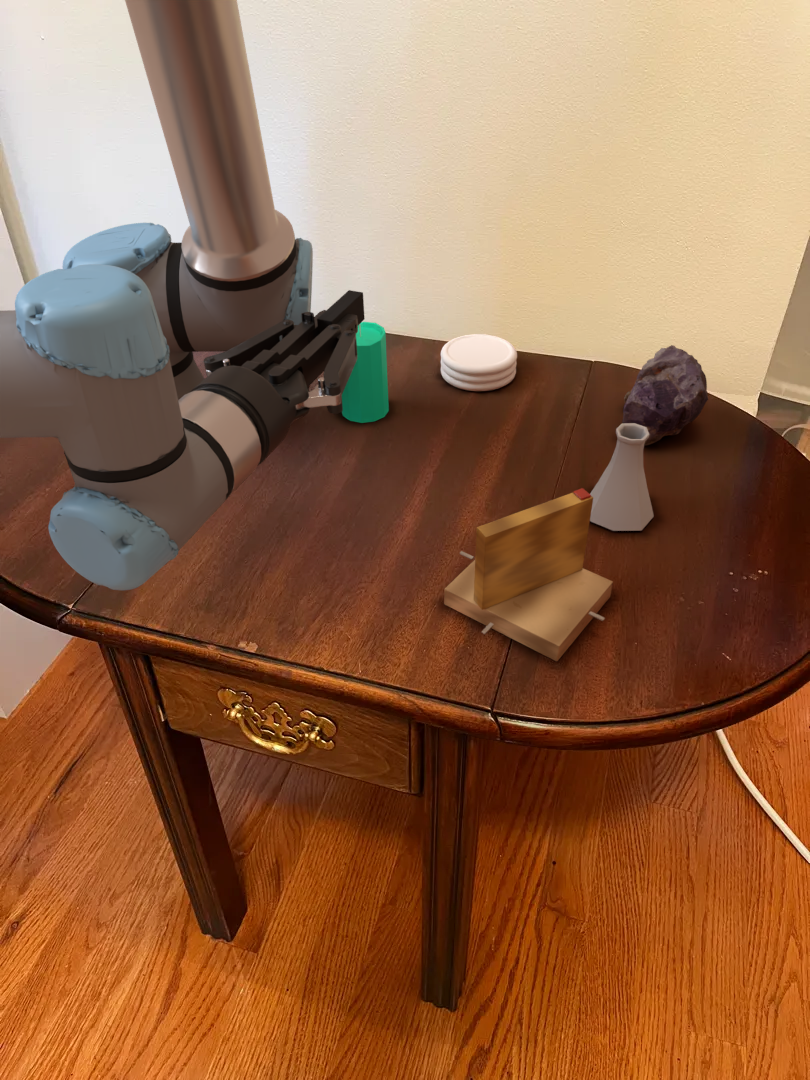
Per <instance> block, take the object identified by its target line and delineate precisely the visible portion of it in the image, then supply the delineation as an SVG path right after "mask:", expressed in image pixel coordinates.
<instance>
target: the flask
mask: <svg viewBox="0 0 810 1080" xmlns="http://www.w3.org/2000/svg"><path fill="white" fill-rule="evenodd" d="M615 434H616V438H617V440H616V445H615V448H614V450H613V454H612V456H611V458H610V460H609V463H608V465H606V467H605V469H604V471H603V473H602V475H601V476H600V477H599V479H598V481H597V482H596V484H595V485H594V487H593V489H592V490H591V492H590V493H589V494H590V495H591V496H592V497H593V504H592V510H591V517H590V522H591V523H593V524H596V525H598V526H601V527H603V528H605V529H608V530H610V531H612V532H618V531H619V532H620V531H621V532H624V531H625V532H626V531H627V532H629V531H630V532H631V531H633V532H634V531H640V532H641V531H643V530H644V529H645V527H646V526H647V525H648V524H649V523H650V521H651V520H652V519H653V518H654V516H655V515H654V510H653V506H652V502H651V498H650V493H649V489H648V485H647V479H646V474H645V467H644V450H645V445H644V444H645V441H646V440H647V439H648V438H649V432H648V429H647V427H644V426H641V425H638V424H635V423H620V425H619V426H618V427H616V428H615Z"/></svg>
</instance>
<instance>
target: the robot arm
mask: <svg viewBox="0 0 810 1080" xmlns="http://www.w3.org/2000/svg"><path fill="white" fill-rule="evenodd" d="M124 2H125V5H126V9H127V12H128V15H129V19H130V22H131V23H130V24H131V26H132V29H133V33H134V37H135V40H136V43H137V47H138V50H139V53H140V57H141V61H142V64H143V66H144V67H143V68H144V71H145V74H146V77H147V81H148V85H149V88H150V92H151V95H152V98H153V102H154V105H155V108H156V112H157V116H158V119H159V123H160V126H161V129H162V130H161V131H162V133H163V137H164V141H165V143H166V148H167V151H168V154H169V157H170V161H171V164H172V169H173V171H174V175H175V178H176V181H177V185H178V189H179V192H180V195H181V199H182V202H183V206H184V210H185V213H186V216H187V220H188V223H189V226H188V227H187V228H186V230H185V232H184V234H183V236H182V240H181V242H173V241H172V236H171V234H170V233H169V231H168V230H167V228H166V227H164V226H163V225H161V224H159V223H157V224H155V223H153V222H135V223H128V224H122V225H118V226H114V227H109V228H107V229H104V230H101V231H98V232H96V233H93V234H92V235H89V236H87V237H85V238H84V239H82V240H79V241H78V242H76V243H75V244H74V245H73V246H72V247H70V248H69V250H68V251H67V252H66V254H65V255H64V257H63V261H62V268H57V269H53V270H50V271H47V272H45V273H42V274H40V275H38V276H36V277H34V278H32V279H31V280H29V281H27V282H26V283H25V284H24V285H23V286H22V287H21V288H20V289H19V290H18V292H17V294H16V295H15V300H14V309H12V310H10V309H9V310H0V438H2V439H6V438H7V439H8V438H10V439H11V438H13V439H14V438H18V439H19V438H20V439H21V438H55V439H57V440H58V442H59V444H60V446H61V448H62V449H63V450H62V451H63V454H64V456H65V460H66V462H67V465H68V468H69V471H70V474H71V476H72V479H73V482H74V485H73V488H70V489H68V490H67V491H64V492H63V493H62V497H61V499H60V500H59V501H58V502H56V504H54V506H52V508H51V510H50V515H49V522H48V527H47V528H48V533H49V536H50V540H51V542H52V543H53V546H54V548H55V549H56V551H57V552H58V553H59V555H60V556H61V558H62V559H63V561H65V563H67V565H69V566H70V567H71V568H72V569H73V570H74V571H75V572H76V573H77V574H78V575H80V576H82V577H83V578H84V579H86V580H87V581H89V582H91V583H93V584H95V585H97V586H103V587H106V588H108V589H109V590H113V591H130V590H134V589H137V588H139V587H141V586H142V585H144V584H145V583H146V582H147V581H148V580H150V579H151V578H152V577H153V576H154V575H156V573H158V571H160V570H161V569H162V568H164V566H166V565H167V564H168V563H169V562H171V561H173V560H174V559H175V558H176V557H177V556H178V555H179V552H180V551H181V549H182V548H183V547H184V546H185V545H186V544H187V543H188V542H189V541H190V540H191V538H192V537H194V535H196V533H197V532H198V531H199V530H200V528H202V526H204V524H205V523H206V522H207V521H208V520H209V519H210V518H211V517H212V516H213V514H215V512H217V510H218V509H219V508H220V507H222V505H223V504H224V503H225V502H226V501H227V499H228V498H229V497H231V496H232V495H233V493H234V492H235V491H236V490H237V489H238V488H239V487H240V486H241V485H242V484H243V483H244V482H245V481H246V480H247V478H248V477H250V476H251V474H252V473H254V471H256V469H257V467H258V466H260V465H261V464H262V463H264V461H265V460H266V459H267V458H268V457H269V456H270V455H271V454H272V453H273V452H274V451H275V450H276V448H277V447H278V446H280V444H282V442H283V441H284V439H285V438H286V436H287V433H288V432H289V430H290V427H291V426H292V423H293V422H294V421H297V420H299V419H301V418H303V417H305V416H307V415H308V413H309V412H310V410H311V408H312V409H313V408H321V407H326V409H327V412H328V413H329V414H332V415H338V414H341V413H342V411H343V407H342V393H343V391H344V389H345V386H346V384H347V382H348V379H349V377H350V375H351V373H352V370H353V368H354V366H355V363H356V361H357V342H356V333H357V332H358V325H359V324H360V323H361V322H364V320H365V318H366V317H365V304H364V303H365V302H364V301H365V300H364V292H362V291H357V290H351V289H348V290H347V291H346V292H345V293H343V295H342V296H340V297H339V298H338V299H337V300H336V301H335V302H334V303H332V305H331V306H330V307H329V308H327V309H323V310H320V311H319V312H317V314H316V315H315V313H314V312H312V296H313V295H312V294H313V293H312V292H313V268H314V267H313V266H314V265H313V263H314V262H313V261H314V259H313V258H314V257H313V255H314V251H313V245H312V242H311V241H310V240H309V239H308V240H307V239H303V238H302V237H296V236H295V231H294V228H293V224H292V223H291V221H290V219H288V218H287V216H286V215H284V214H283V213H282V212H281V211H279V210H277V209H276V207H275V202H274V197H273V193H272V187H271V181H270V175H269V171H268V165H267V159H266V154H265V148H264V143H263V137H262V131H261V125H260V120H259V114H258V108H257V105H256V104H257V103H256V98H255V93H254V87H253V82H252V77H251V72H250V71H251V69H250V66H249V60H248V53H247V48H246V42H245V38H244V32H243V31H244V30H243V27H242V21H241V16H240V10H239V4H238V0H124ZM195 352H196V353H198V352H200V353H201V352H203V353H204V352H205V353H206V352H208V353H211V352H212V353H213V352H214V353H215V354H213V355H210V356H207V357H204V358H203V364H204V369H205V374H206V377H204V375H203V373H202V371H201V369H200V368H199V366H198V365H197V362H196V361H195V357H194V353H195ZM216 352H217V353H216ZM322 374H323V376H321V375H322ZM316 380H317V384H316V385H315V386H314V388H313V389H312V390H310V386H311V385H312V384H313V383H314V382H315V381H316Z"/></svg>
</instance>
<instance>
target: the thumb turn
mask: <svg viewBox="0 0 810 1080" xmlns="http://www.w3.org/2000/svg"><path fill="white" fill-rule="evenodd" d="M592 504H593V497H592V496H591V495H590V493H589V492H588V491H587V490H585V488H584V487H581V488H579V489H575V490H573V491H572V492H570V493H567V494H565V495H562V496H559V497H556V498H554V499H550V500H548V501H545V502H543V503H539V504H537V505H533V506H532V507H529V508H526V509H523V510H519V511H518V512H515V513H512V514H509V515H507V516H504V517H501V518H498V519H495V520H493V521H490V522H486V523H485V524H482V525H478V526H477V527H476V532H475V553H474V554H475V555H474V560H475V577H474V601H475V602H476V603H477V605H478V606H479V607H480V608H481V609H482V610H483V609H486V608H488V607H491V606H493V605H496V604H498V603H501V602H503V601H506V600H508V599H511V598H513V597H516V596H518V595H521V594H523V593H526V592H528V591H531V590H533V589H536V588H538V587H541V586H543V585H546V584H548V583H551V582H553V581H556V580H558V579H561V578H563V577H566V576H568V575H571V574H573V573H576V572H578V571H581V570H582V569H583V568H584V561H585V555H586V549H587V542H588V535H589V528H590V522H591V521H590V517H591V510H592Z"/></svg>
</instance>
